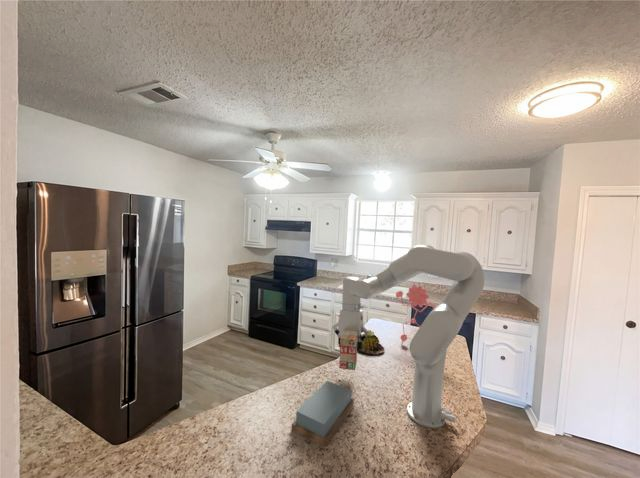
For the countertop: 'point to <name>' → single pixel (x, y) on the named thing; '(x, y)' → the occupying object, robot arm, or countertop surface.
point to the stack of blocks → (348, 350)
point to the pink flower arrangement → (414, 302)
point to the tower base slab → (330, 433)
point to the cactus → (371, 344)
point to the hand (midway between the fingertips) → (349, 347)
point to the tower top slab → (323, 408)
